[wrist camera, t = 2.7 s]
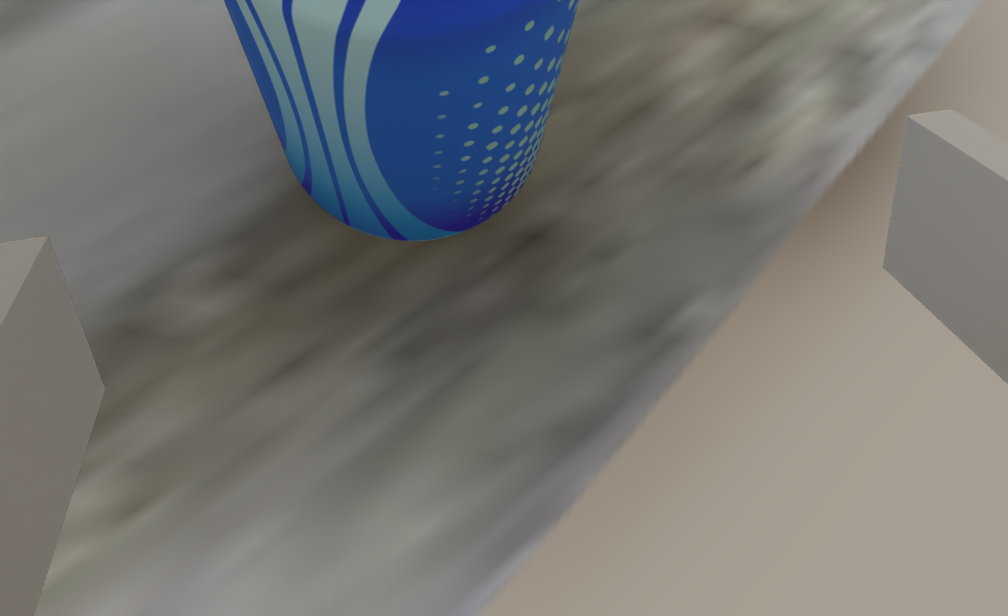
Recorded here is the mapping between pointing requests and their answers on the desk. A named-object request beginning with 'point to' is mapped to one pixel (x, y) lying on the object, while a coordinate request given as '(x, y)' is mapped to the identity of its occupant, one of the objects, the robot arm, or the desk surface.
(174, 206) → the desk surface
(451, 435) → the desk surface
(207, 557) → the desk surface
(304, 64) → the beer can
